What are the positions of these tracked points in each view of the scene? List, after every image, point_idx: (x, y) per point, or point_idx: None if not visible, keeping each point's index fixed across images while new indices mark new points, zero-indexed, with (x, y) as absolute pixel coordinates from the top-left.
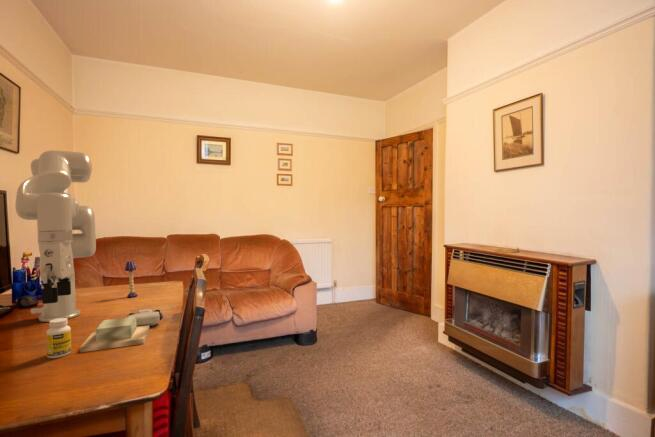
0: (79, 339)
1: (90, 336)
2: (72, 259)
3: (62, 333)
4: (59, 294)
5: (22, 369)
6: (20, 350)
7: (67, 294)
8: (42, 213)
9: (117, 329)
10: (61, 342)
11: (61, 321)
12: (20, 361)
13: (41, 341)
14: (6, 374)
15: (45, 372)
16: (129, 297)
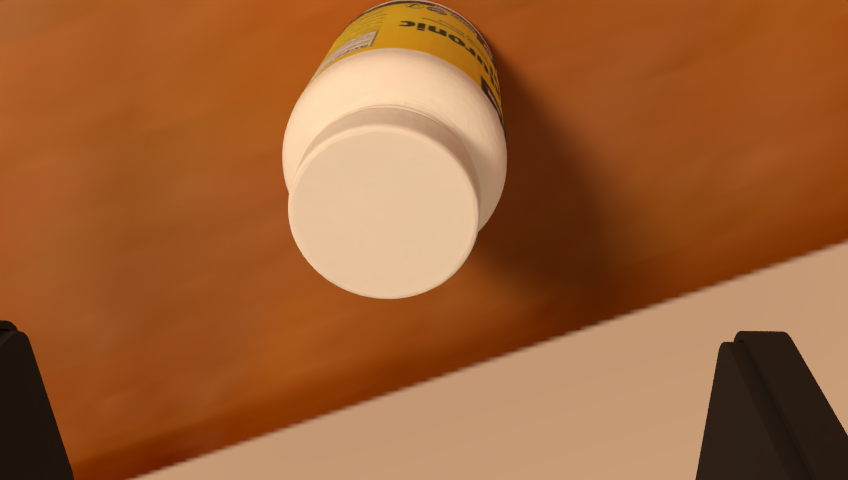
0: (47, 39)
1: None
2: None
3: (485, 97)
4: (58, 476)
5: (630, 234)
6: (218, 380)
7: (28, 358)
8: None
9: None
10: (491, 77)
11: (461, 163)
12: (453, 303)
13: (49, 321)
14: (676, 294)
15: (794, 49)
16: None
